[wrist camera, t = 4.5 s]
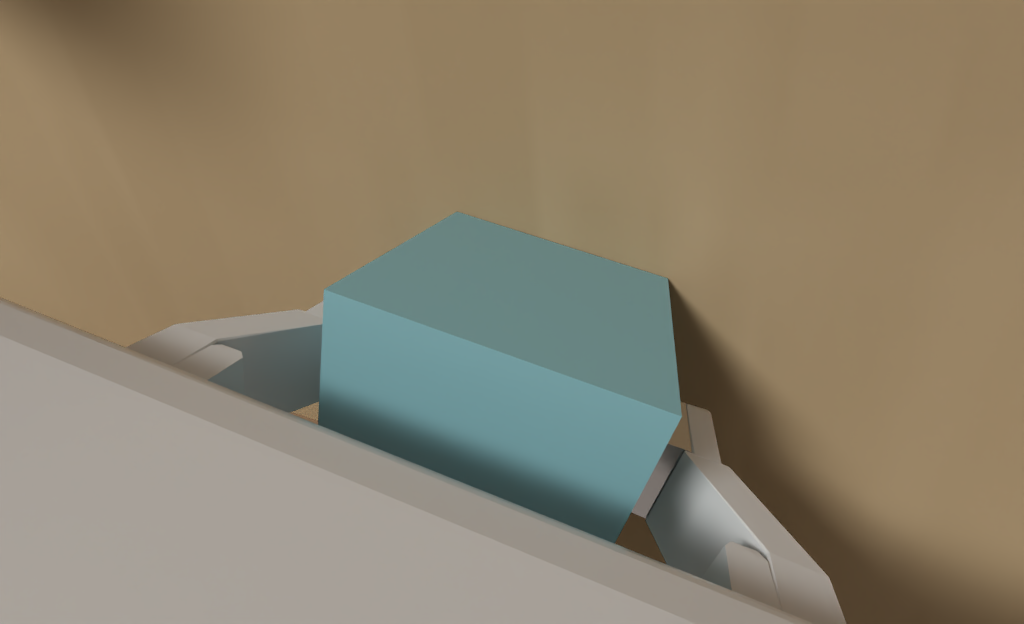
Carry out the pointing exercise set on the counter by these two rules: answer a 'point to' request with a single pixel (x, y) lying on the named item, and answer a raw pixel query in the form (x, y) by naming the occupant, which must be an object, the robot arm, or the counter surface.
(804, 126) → the counter surface
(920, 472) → the counter surface
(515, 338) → the teal cube
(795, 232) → the counter surface
